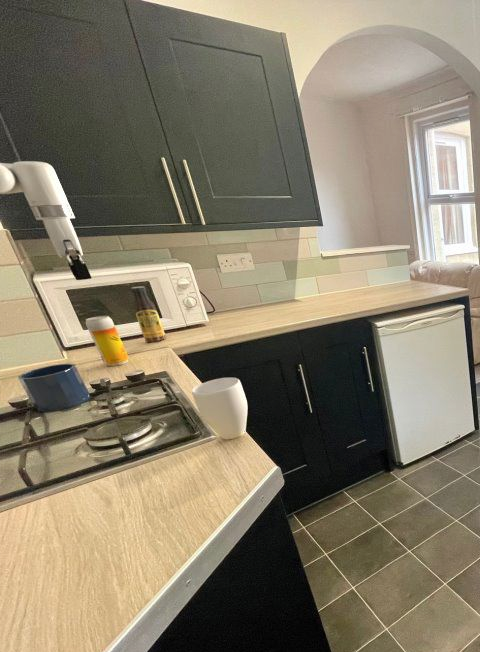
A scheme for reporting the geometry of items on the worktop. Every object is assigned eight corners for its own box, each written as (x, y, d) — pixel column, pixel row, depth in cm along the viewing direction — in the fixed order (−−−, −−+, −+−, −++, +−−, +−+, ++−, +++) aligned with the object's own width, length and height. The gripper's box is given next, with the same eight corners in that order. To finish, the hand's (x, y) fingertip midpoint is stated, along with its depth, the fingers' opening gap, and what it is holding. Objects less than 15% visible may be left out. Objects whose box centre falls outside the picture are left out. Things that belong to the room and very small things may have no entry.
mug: (261, 433, 88) (245, 383, 84) (216, 449, 83) (196, 397, 78) (244, 415, 96) (228, 370, 92) (202, 429, 91) (183, 381, 86)
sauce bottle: (146, 344, 154) (123, 289, 146) (145, 340, 158) (124, 287, 150) (168, 340, 158) (147, 286, 150) (167, 336, 162) (147, 284, 154)
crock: (37, 416, 101) (18, 382, 97) (36, 405, 107) (18, 372, 103) (93, 401, 108) (76, 369, 104) (88, 391, 114) (73, 360, 110)
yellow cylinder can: (133, 361, 136) (113, 316, 130) (109, 368, 131) (88, 321, 125) (125, 359, 139) (105, 314, 133) (102, 365, 134) (80, 319, 128)
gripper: (33, 214, 116) (63, 277, 123) (33, 213, 105) (66, 282, 112) (71, 213, 121) (97, 273, 128) (74, 212, 110) (103, 278, 117)
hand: (83, 277), depth 120 cm, fingers open, 9 cm apart
